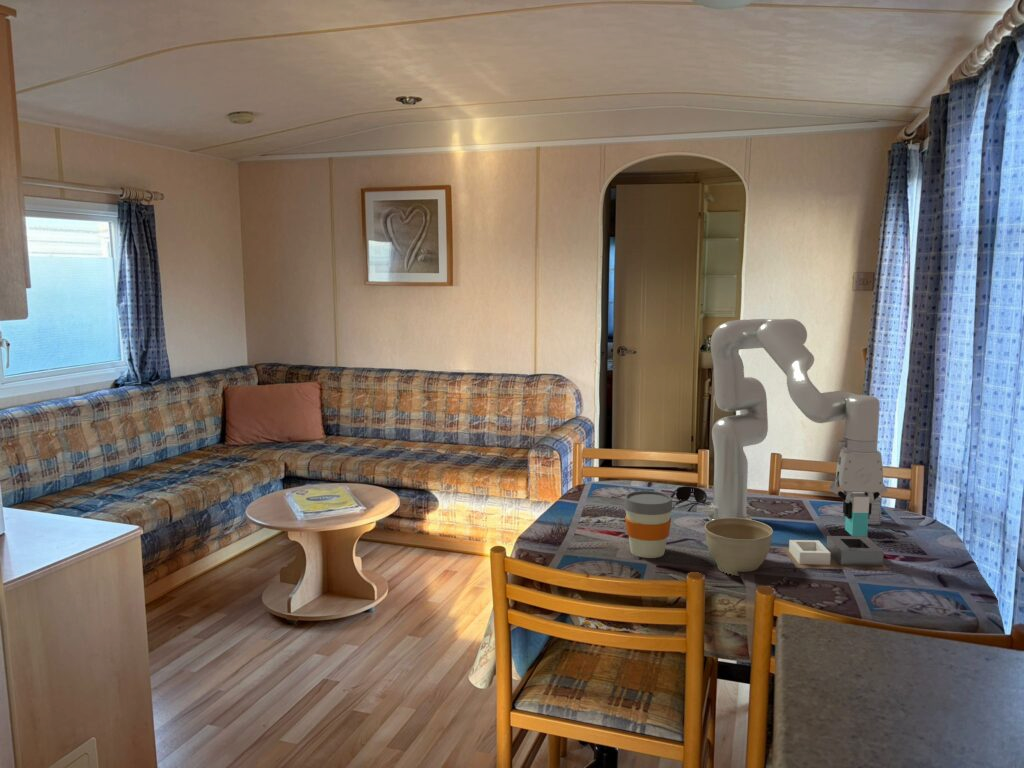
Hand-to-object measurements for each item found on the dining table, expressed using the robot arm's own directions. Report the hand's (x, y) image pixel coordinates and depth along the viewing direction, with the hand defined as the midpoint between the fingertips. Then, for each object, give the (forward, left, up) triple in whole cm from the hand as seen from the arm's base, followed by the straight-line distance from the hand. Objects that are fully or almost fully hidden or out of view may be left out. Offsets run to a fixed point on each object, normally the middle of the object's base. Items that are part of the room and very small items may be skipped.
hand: (856, 516), depth 186 cm
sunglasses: (-35, +47, -13) cm, 60 cm away
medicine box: (+15, +33, -13) cm, 39 cm away
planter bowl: (-30, -5, -13) cm, 33 cm away
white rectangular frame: (-11, 0, -11) cm, 16 cm away
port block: (0, 0, -11) cm, 11 cm away
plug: (0, 0, -4) cm, 4 cm away
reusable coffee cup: (-51, +6, -13) cm, 53 cm away
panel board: (-5, 0, -13) cm, 14 cm away
